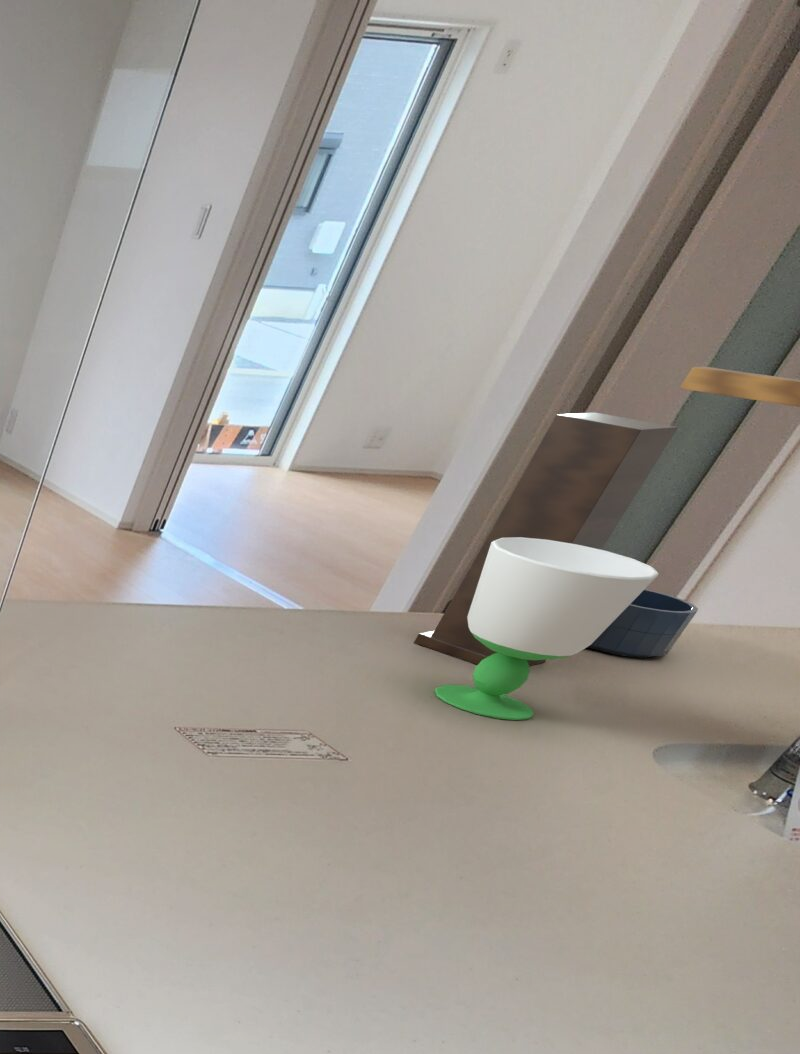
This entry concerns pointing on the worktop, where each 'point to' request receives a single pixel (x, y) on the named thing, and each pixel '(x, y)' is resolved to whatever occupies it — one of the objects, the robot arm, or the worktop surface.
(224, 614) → the worktop surface
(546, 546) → the cup
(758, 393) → the wooden bar
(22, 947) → the worktop surface
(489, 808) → the worktop surface
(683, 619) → the bowl
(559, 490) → the tall brown box
